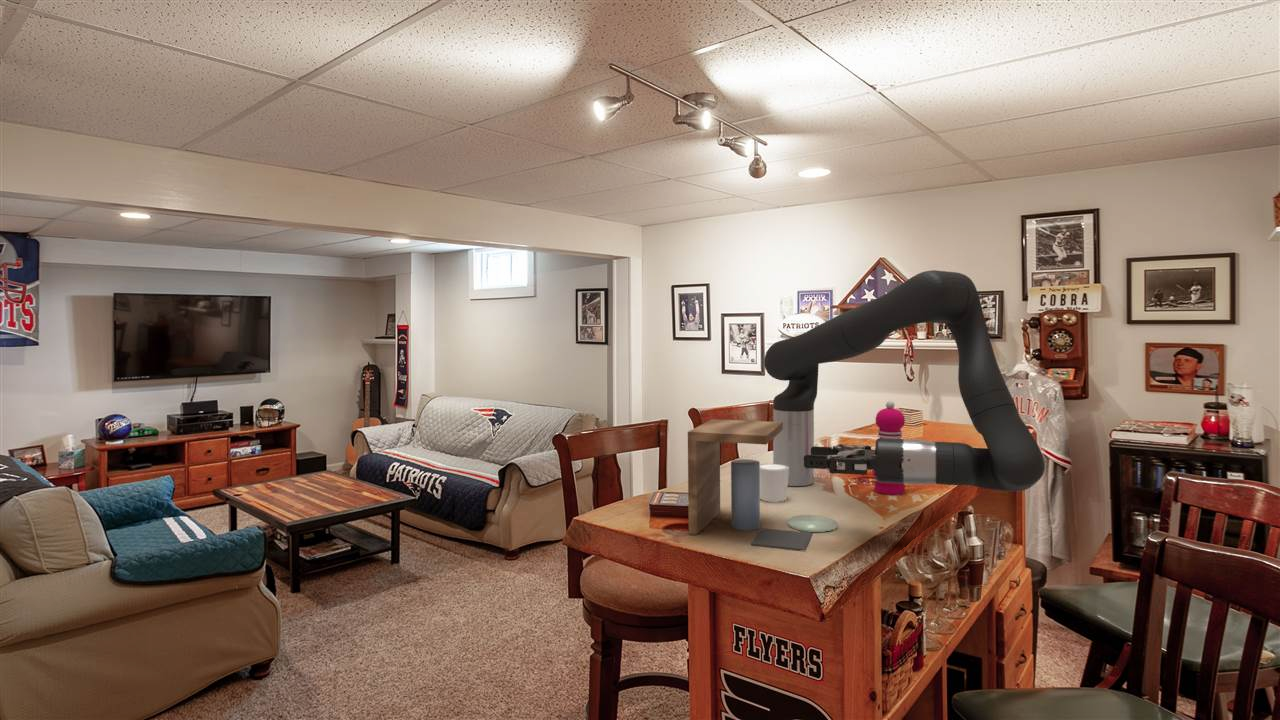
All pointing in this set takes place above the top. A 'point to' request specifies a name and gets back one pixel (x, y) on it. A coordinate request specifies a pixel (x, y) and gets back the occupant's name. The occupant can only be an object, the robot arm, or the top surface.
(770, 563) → the top surface
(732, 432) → the shelf
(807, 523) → the coaster
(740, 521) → the blue pillar candle
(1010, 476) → the robot arm
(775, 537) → the drip mat
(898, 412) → the pepper mill
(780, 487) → the white cup
